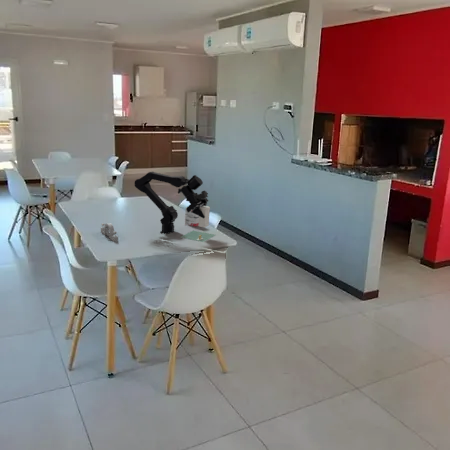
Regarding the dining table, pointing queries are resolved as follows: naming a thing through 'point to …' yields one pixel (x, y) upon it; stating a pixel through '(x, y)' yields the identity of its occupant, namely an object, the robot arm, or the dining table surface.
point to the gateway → (109, 231)
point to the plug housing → (205, 221)
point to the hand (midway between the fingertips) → (206, 216)
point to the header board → (197, 236)
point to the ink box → (191, 219)
